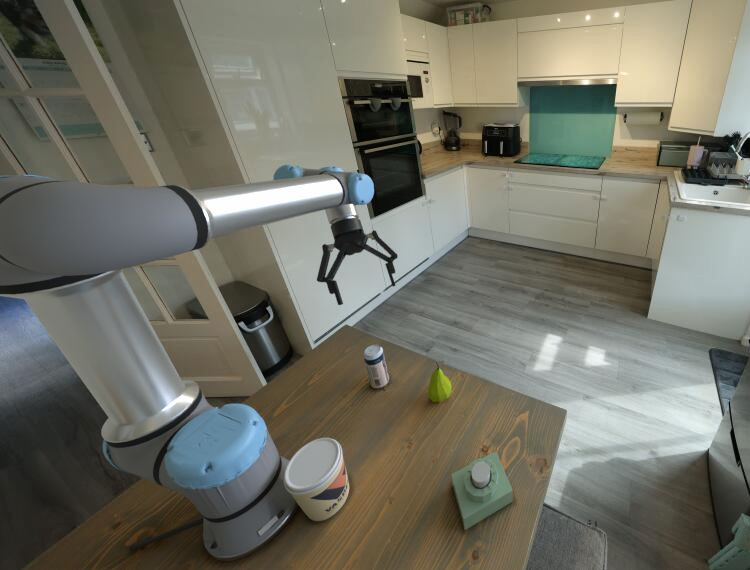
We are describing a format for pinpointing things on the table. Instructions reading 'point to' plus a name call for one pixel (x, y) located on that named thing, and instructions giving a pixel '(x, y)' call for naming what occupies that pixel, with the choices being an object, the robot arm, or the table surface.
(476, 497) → the grey button cap base
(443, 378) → the fruit
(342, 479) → the ice cream tub
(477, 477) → the grey button cap
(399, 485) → the table surface
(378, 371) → the beer can
